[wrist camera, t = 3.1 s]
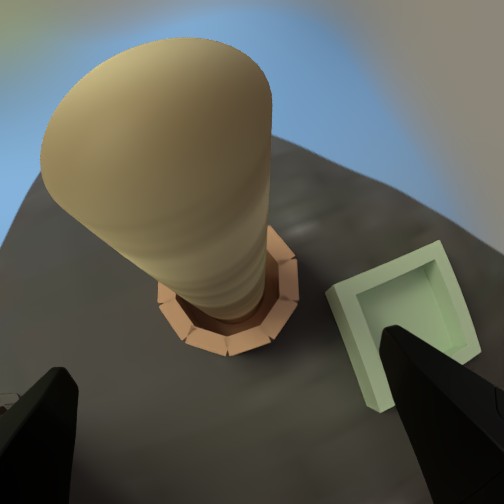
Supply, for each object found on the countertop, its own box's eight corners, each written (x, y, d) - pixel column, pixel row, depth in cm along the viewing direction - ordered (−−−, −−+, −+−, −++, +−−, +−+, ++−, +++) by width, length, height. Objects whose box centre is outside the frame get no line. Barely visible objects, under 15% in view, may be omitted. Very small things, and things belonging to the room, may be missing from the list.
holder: (311, 327, 20) (321, 322, 16) (192, 368, 19) (179, 372, 16) (269, 221, 22) (271, 197, 18) (159, 259, 21) (142, 242, 18)
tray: (460, 352, 18) (481, 351, 16) (366, 406, 18) (380, 412, 15) (422, 251, 21) (439, 239, 18) (324, 292, 20) (333, 284, 18)
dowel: (273, 311, 19) (317, 166, 4) (211, 332, 19) (42, 264, 4) (251, 251, 21) (228, 19, 5) (191, 272, 20) (47, 87, 5)
